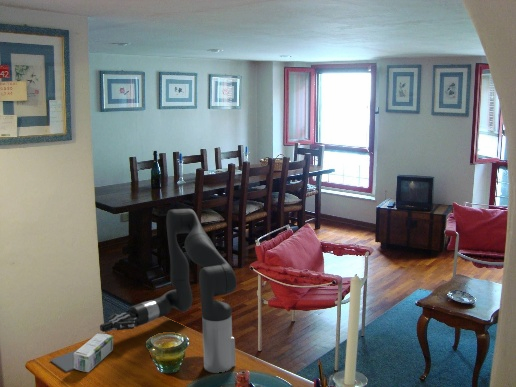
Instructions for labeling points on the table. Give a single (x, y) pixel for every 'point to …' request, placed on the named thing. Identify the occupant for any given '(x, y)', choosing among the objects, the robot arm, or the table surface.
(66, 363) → the charcoal mat
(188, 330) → the table surface
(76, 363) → the syrup box
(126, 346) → the table surface
